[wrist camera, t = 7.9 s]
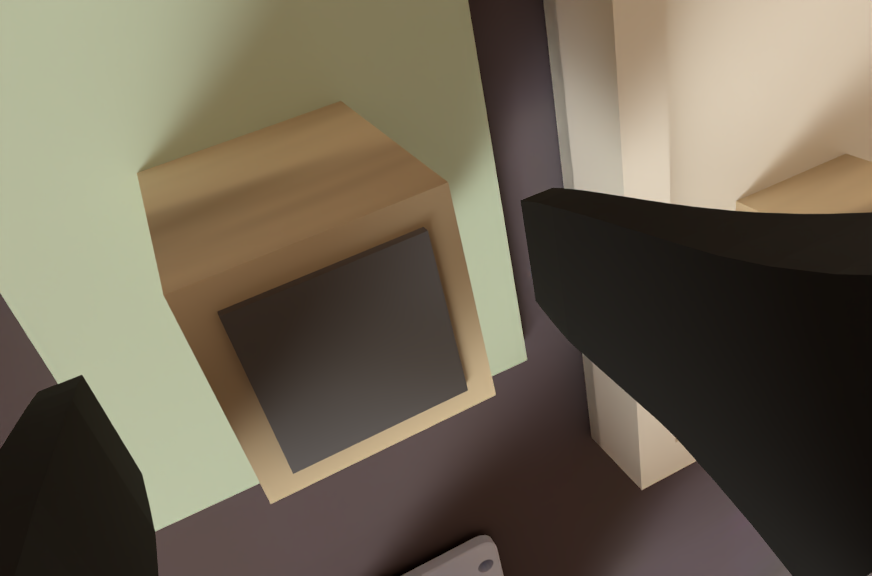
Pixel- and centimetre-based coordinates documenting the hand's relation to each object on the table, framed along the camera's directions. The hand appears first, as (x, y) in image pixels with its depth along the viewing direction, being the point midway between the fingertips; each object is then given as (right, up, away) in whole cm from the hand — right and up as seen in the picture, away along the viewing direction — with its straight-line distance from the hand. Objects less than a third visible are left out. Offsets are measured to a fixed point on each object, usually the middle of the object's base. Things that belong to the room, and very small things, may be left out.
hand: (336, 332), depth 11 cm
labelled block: (-2, +2, +3) cm, 4 cm away
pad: (-2, +2, +4) cm, 5 cm away
